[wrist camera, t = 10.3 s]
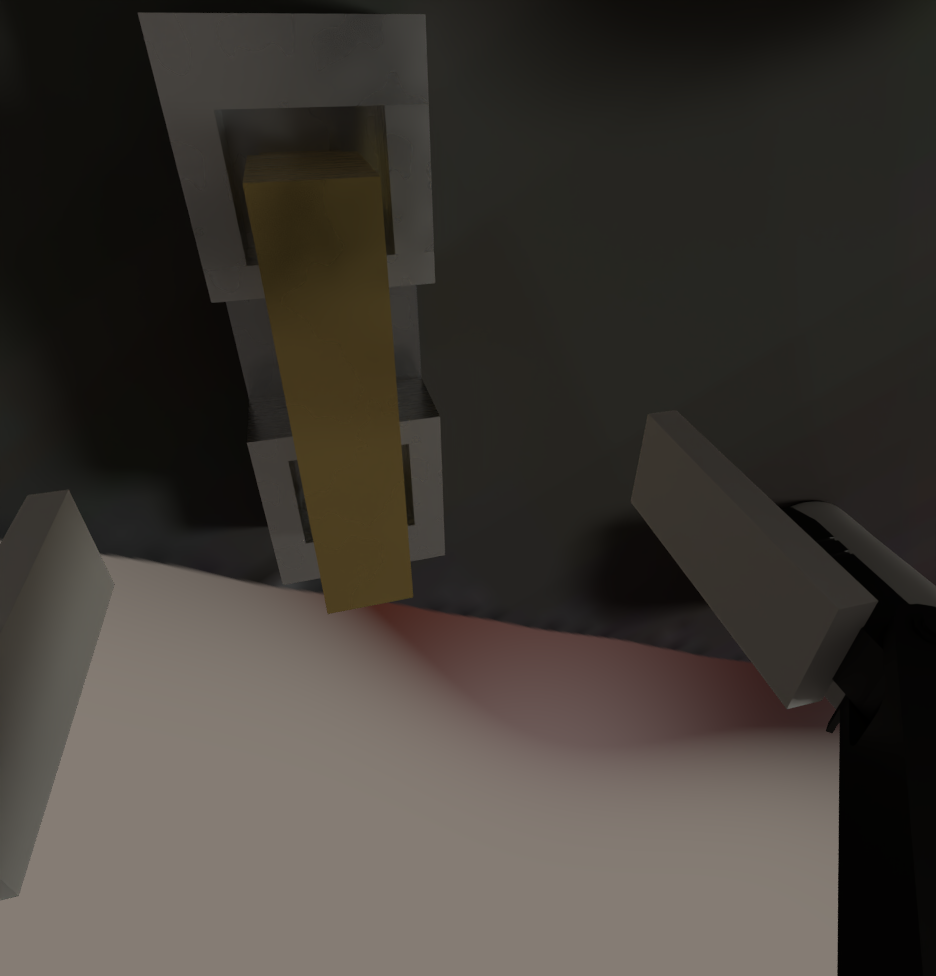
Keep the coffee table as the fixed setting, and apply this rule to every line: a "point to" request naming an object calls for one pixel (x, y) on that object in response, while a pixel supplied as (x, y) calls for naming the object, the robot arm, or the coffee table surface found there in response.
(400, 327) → the bracket
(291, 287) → the yellow rectangular block
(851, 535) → the mug
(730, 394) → the coffee table surface
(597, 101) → the coffee table surface
